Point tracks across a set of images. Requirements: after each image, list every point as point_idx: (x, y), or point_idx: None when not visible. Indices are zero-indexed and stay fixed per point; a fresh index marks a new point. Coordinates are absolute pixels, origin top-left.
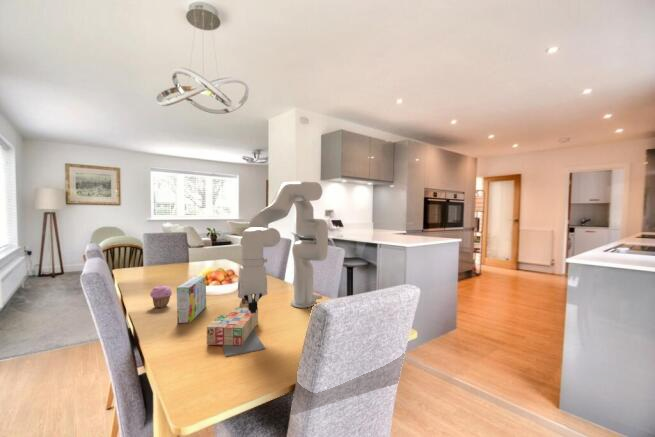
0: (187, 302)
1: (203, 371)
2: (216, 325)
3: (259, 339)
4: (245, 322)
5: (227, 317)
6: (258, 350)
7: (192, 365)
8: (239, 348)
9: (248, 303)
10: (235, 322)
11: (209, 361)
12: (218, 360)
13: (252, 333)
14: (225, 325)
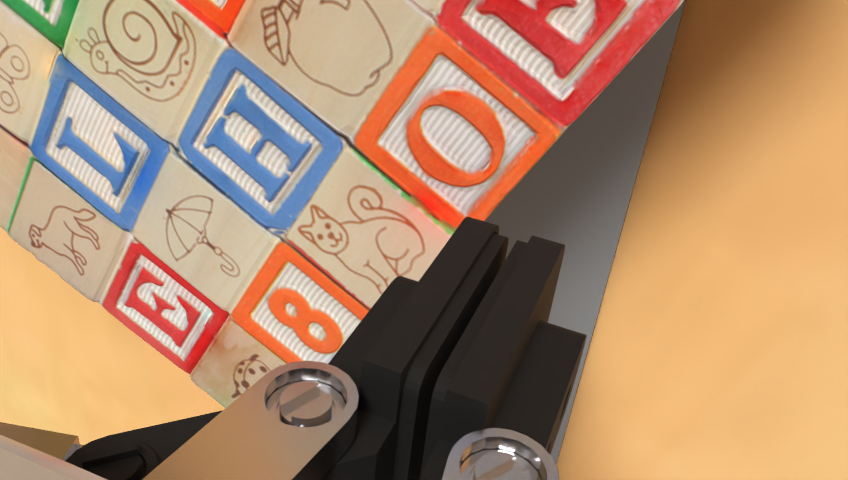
0: None
1: (102, 423)
2: (9, 189)
3: (590, 320)
4: None
5: None
6: None
7: (35, 318)
8: None
9: (336, 360)
10: (227, 266)
11: (128, 345)
12: (182, 374)
13: (599, 108)
14: (108, 262)
